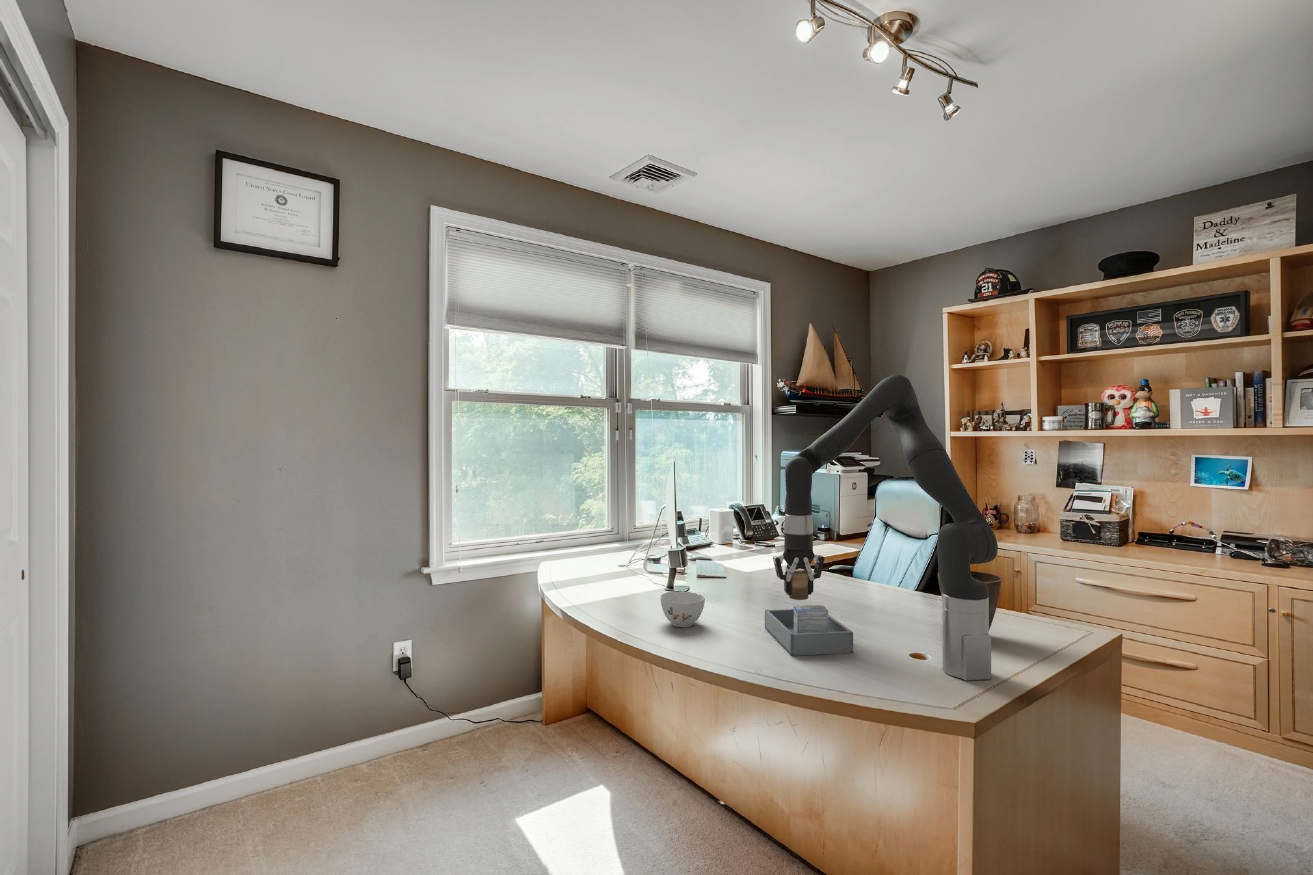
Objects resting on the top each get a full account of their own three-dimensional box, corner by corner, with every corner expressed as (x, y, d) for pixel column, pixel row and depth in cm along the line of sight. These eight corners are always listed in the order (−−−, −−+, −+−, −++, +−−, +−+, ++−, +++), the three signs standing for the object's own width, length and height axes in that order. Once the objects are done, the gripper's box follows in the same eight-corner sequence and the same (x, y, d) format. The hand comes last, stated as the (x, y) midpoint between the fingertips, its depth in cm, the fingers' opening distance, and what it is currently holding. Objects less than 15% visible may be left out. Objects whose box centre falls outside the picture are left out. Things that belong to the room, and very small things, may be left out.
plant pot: (928, 637, 162) (928, 575, 162) (949, 624, 173) (949, 567, 173) (990, 650, 152) (990, 585, 152) (1009, 636, 162) (1009, 575, 162)
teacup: (694, 634, 166) (694, 604, 166) (652, 628, 171) (652, 599, 171) (714, 619, 179) (714, 591, 179) (675, 614, 185) (674, 587, 185)
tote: (853, 652, 151) (853, 632, 151) (790, 655, 149) (790, 634, 149) (819, 626, 172) (819, 608, 172) (764, 628, 170) (764, 610, 170)
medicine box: (824, 638, 159) (824, 605, 159) (828, 644, 155) (828, 609, 155) (793, 638, 159) (793, 605, 159) (797, 644, 155) (796, 609, 155)
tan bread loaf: (811, 599, 164) (810, 573, 164) (792, 600, 164) (792, 573, 164) (804, 594, 169) (804, 569, 169) (786, 595, 169) (786, 569, 169)
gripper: (819, 528, 171) (819, 590, 171) (768, 529, 170) (768, 591, 170) (829, 532, 164) (829, 597, 164) (776, 533, 162) (776, 599, 162)
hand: (798, 594), depth 167 cm, fingers closed on tan bread loaf, 5 cm apart
